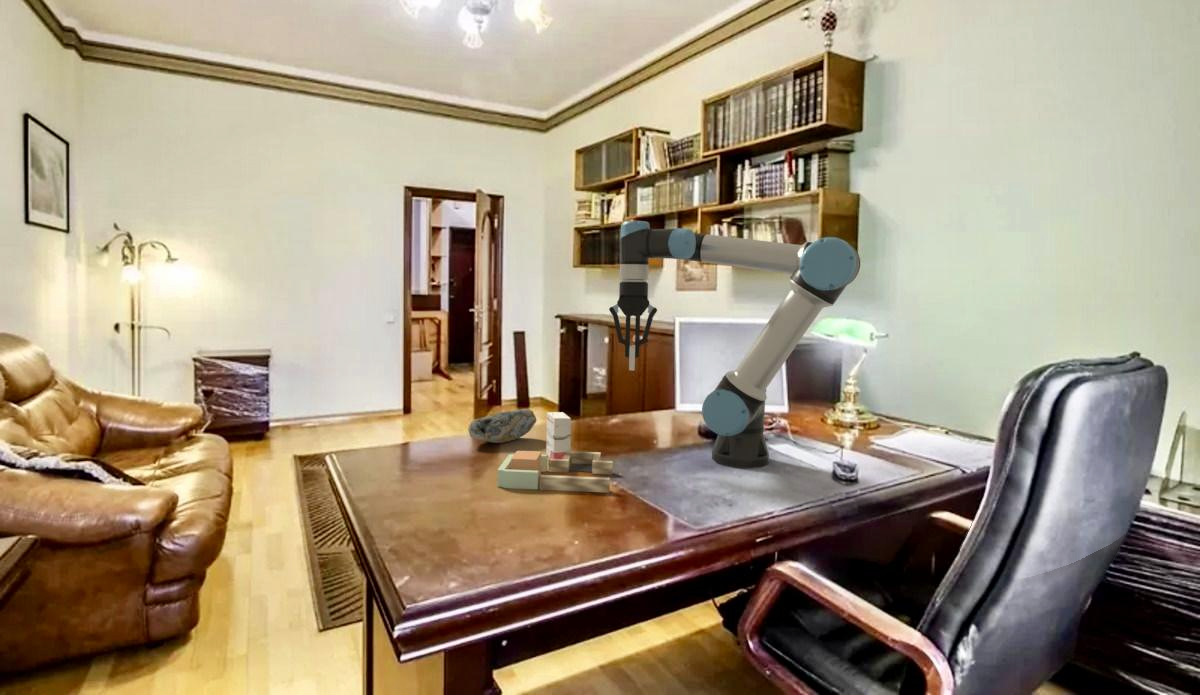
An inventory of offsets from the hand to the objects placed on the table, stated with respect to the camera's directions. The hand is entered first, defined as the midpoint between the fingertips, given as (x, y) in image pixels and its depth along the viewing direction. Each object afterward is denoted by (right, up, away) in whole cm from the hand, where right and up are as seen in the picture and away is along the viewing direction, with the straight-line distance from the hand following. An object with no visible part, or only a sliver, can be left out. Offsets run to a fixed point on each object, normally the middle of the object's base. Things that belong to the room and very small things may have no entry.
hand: (631, 369), depth 174 cm
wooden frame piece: (-14, -26, -14) cm, 32 cm away
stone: (-37, -22, +16) cm, 46 cm away
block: (-26, -26, -17) cm, 41 cm away
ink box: (-20, -24, +2) cm, 31 cm away
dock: (-27, -26, -17) cm, 41 cm away
